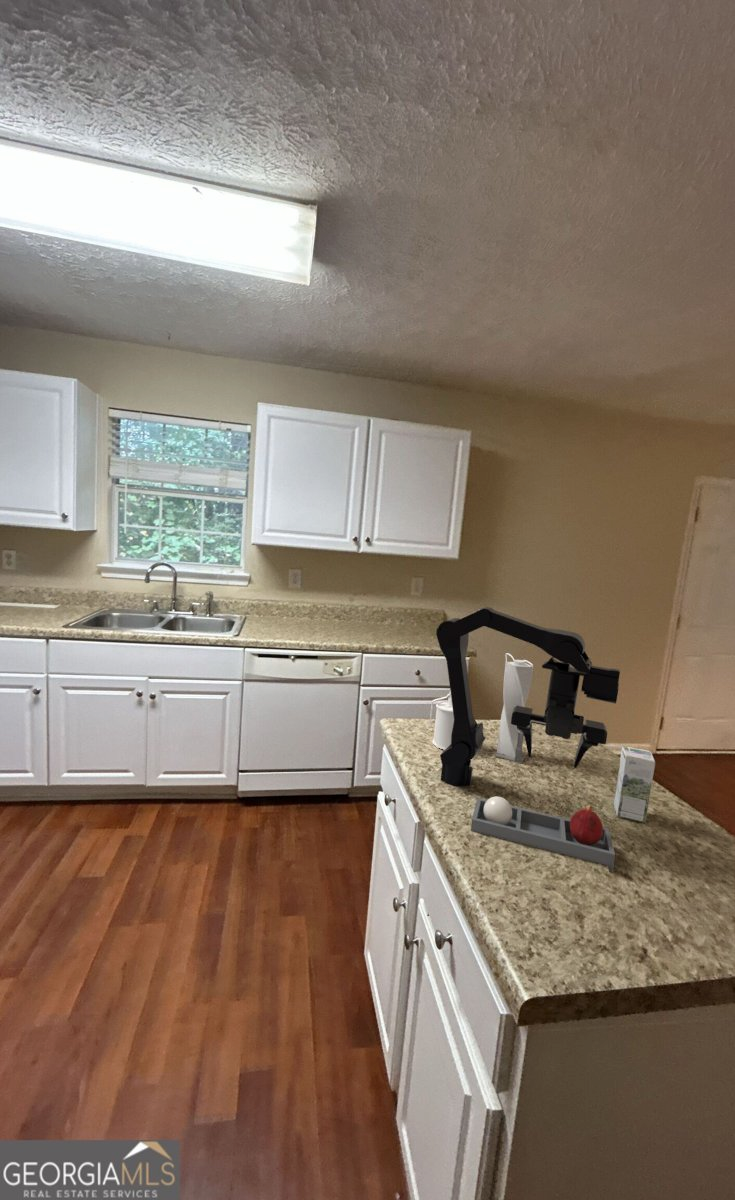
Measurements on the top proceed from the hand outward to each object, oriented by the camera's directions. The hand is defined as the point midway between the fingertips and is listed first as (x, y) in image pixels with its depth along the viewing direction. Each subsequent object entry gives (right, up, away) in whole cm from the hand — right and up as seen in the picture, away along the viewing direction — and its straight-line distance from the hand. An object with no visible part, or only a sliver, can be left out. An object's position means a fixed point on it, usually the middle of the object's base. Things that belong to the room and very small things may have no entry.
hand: (551, 761), depth 108 cm
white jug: (-17, -6, +34) cm, 39 cm away
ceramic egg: (-14, -10, -7) cm, 19 cm away
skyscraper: (-1, -8, +31) cm, 32 cm away
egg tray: (-6, -12, -9) cm, 17 cm away
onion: (+2, -12, -12) cm, 17 cm away
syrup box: (+18, -13, +3) cm, 23 cm away
